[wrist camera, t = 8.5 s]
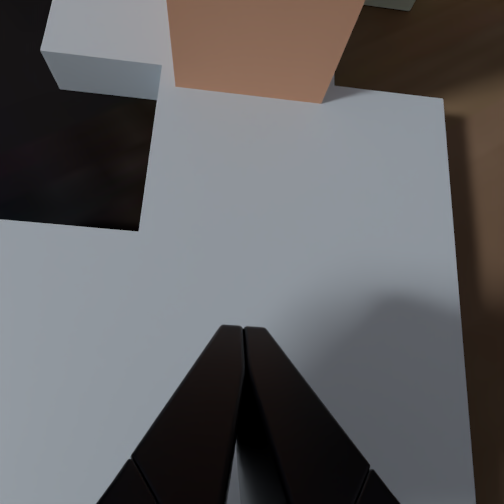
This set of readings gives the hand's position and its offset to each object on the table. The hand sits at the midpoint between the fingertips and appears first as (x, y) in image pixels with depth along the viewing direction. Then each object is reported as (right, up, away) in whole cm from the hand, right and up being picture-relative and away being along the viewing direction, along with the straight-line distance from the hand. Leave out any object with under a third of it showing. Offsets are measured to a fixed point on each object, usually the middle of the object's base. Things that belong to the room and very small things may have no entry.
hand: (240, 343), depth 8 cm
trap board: (0, +7, +9) cm, 11 cm away
